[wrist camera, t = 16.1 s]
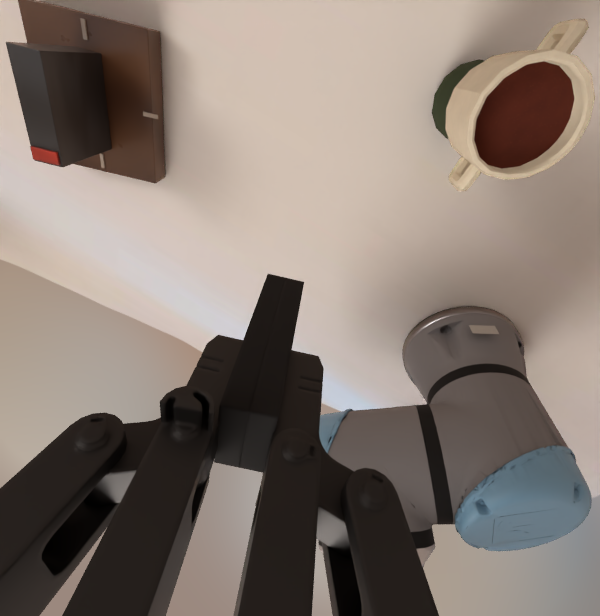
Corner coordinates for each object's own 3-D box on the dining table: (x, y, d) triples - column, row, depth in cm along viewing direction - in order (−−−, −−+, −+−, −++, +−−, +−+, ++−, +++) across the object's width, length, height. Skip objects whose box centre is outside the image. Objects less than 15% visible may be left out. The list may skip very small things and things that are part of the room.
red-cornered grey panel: (74, 46, 30) (2, 41, 23) (101, 53, 30) (37, 50, 24) (88, 143, 34) (32, 161, 28) (112, 149, 35) (61, 168, 28)
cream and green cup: (458, 175, 35) (508, 223, 24) (399, 142, 34) (424, 178, 23) (545, 54, 29) (661, 49, 18) (475, 9, 28) (557, -24, 17)
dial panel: (170, 178, 38) (160, 185, 36) (62, 152, 38) (45, 158, 36) (167, 33, 31) (153, 30, 28) (31, -2, 30) (7, -6, 28)
